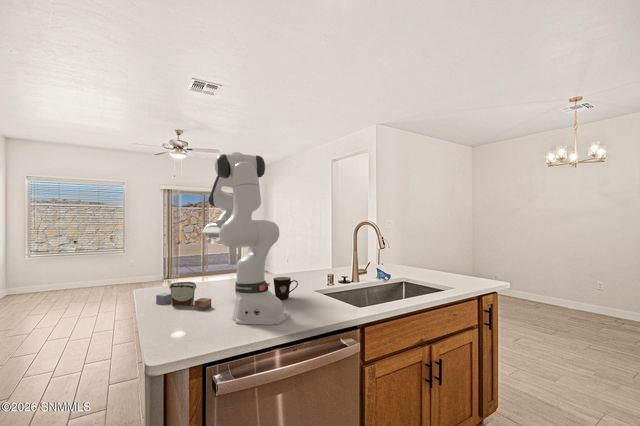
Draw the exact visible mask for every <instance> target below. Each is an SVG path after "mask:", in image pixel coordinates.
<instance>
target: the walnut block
mask: <svg viewBox="0 0 640 426" xmlns="http://www.w3.org/2000/svg"><path fill="white" fill-rule="evenodd" d="M193 306H194V307H193V308H194V309H193V310H194V311H195V310H196V311H206V310H208V309H210V308H212V298H209V297H208V298H207V297H200V298H198V299H194V302H193Z"/></svg>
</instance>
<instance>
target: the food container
mask: <svg viewBox="0 0 640 426" xmlns="http://www.w3.org/2000/svg"><path fill="white" fill-rule="evenodd" d="M169 289H170V293H171V300H172V302H171V306H172V307H189V308H190V307H191V308H192V307H193V306H194V301H195V292H196V289H197V284H196V282H195V281H179V282H173V283H170V285H169Z"/></svg>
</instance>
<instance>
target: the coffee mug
mask: <svg viewBox="0 0 640 426" xmlns="http://www.w3.org/2000/svg"><path fill="white" fill-rule="evenodd" d="M293 282H296V285H295V287H294V288H293V289H292V288H291V284H292V283H293ZM298 285H299V283H298V281H297V280H295V279H291V277H290V276H289V277H288V276H277V277H273V287H274V295H275V296H276V297H277V298H279V299H280V300H281V301H286V300H289V299H290V298H289V297H290V293H291V292H293V291H294V290H295V289H297V288H298ZM290 288H291V290H290Z"/></svg>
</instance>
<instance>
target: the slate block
mask: <svg viewBox="0 0 640 426" xmlns="http://www.w3.org/2000/svg"><path fill="white" fill-rule="evenodd" d="M170 303H172V300H171V292H163V293H160V294H156V295H155V304H159V305H166V304H170Z"/></svg>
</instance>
